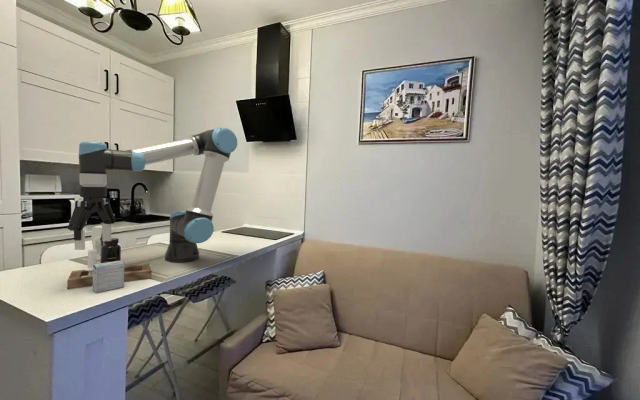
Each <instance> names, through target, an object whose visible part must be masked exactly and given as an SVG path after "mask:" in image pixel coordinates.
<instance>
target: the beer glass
mask: <svg viewBox="0 0 640 400" xmlns="http://www.w3.org/2000/svg"><path fill="white" fill-rule="evenodd" d="M90 237H91V243H92V249H93V248H94V249H96V250H97V260H99V261H100V260H101V247H102V246H104V245H105V244H104V241H102V224H101V225H93V226H92V229H91V236H90Z"/></svg>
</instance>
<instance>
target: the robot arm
mask: <svg viewBox="0 0 640 400" xmlns="http://www.w3.org/2000/svg"><path fill="white" fill-rule="evenodd" d="M78 146H79V147H78V171H79V185H80V187H79V197H81V198H82V200H75V201H74V202H75V203H74V209H73V212H72V214H71V217H70V220H69V223H68V225H67V230H69V231H71V232H72V231H73V240H74V250H77V251H84V250H86V230H84V228H85V225H87V222H88V220H89V219H90V217H91V215H92V214H94V213H96V214H97V215H98V216H99V218H100V219H101V221H102V222H103V223H102V224H101V225H102V241H111V238H112V224H113V225H114V224H115V223H116V217H115V214H114V212H113V208H112V206H111V201H110V200H111V199H110V198H109V197H108V198H107V195H108V189H107V187H106V186H107V184H108V182H107V181H108V180H107V171H108V170H109V171H116V172H121V171H123V172H125V171H126V172H142V171H144V169H145V168H146V166H147V165H151V164H152V165H153V164H156V163H159V162H165V161H169V160H170V161H171V160H173V159H177V158H182V157H187V156H191V155H192V156H193V155H194V156H196V157H197V156H200V155H204V156H205V158H204V162H203V165H202V168H201V172H200V175H199V178H198V182H197V185H196V187H195V192H194V196H193V199H192V203H191V206H190V207H188V208H186V210H185V211H173V212H171V213H170V215H169V216H170V217H169V243H168V246H167V248H166V251H165V254H164V260H165V261H167V262H170V263H186V262H192V261H193V262H194V261H195V260H196V261H197V260H199V259H200V251H199V247H198V244H203V243H205V242H206V241H209V239H210V238H211V237H212V236H213V233H214V231H215V228H214V225H213V222H212V221H213V218H214V214H213V213H212V209H213V205H214V201H215V198H216V195H217V191H218V188H219V183H220V179H221V176H222V173H223V169H224V165H225V163H226V162H229V160H230V157H231V154H232V153H233V152H235V150H237V148H238V139H237V136H236V134H235V133H234V131H233V130H231V129H229V128H228V127H216V128H213V129H207V130H205V131H202V132H200V133H197V134H193V135H189V136H188V137H187V138H183V139H180V140H174V141H169V142H163V143H158V144H153V145H152V144H151V145H147V146H143V147H137V148H133V149H127V150H121V149H120V150H119V149H110V148H108V147H107V144H106V143H103V142H96V141H88V140H87V141H83V140H82V141H81V142H80V143H79V145H78Z"/></svg>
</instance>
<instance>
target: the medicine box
mask: <svg viewBox="0 0 640 400" xmlns="http://www.w3.org/2000/svg"><path fill="white" fill-rule="evenodd" d="M124 266H125V262H123V261H114V262H107V263H97V264H94V265H93V286H92V290H93V291H94V292H95V293H96V294H97V293H102V292H107V291H111V290H115V289H120V288H124V287H125V282H124Z"/></svg>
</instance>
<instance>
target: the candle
mask: <svg viewBox="0 0 640 400" xmlns="http://www.w3.org/2000/svg"><path fill="white" fill-rule="evenodd" d="M94 264H98V261H97V250H96V249H94V248H93V247H92V248H91V249H89V250H88V251H87V267H84V268H83V270H86V271H88V272H89V273H88V275H93V265H94ZM88 275H87V276H88Z"/></svg>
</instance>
